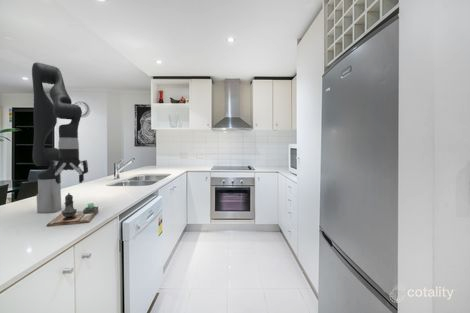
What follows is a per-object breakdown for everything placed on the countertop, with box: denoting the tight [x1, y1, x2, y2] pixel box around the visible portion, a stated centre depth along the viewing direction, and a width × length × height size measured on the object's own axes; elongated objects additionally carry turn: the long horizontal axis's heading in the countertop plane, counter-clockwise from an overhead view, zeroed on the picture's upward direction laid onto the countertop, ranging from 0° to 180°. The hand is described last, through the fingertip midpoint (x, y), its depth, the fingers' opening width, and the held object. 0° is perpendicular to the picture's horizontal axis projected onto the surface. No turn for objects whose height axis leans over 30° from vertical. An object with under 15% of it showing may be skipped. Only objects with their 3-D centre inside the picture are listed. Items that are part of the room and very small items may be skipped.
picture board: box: [46, 206, 99, 227], centre depth 111 cm, size 16×18×3 cm
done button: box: [87, 203, 95, 209], centre depth 117 cm, size 3×3×3 cm
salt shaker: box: [61, 192, 78, 220], centre depth 106 cm, size 6×6×12 cm
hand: (69, 183), depth 106 cm, fingers open, 8 cm apart
